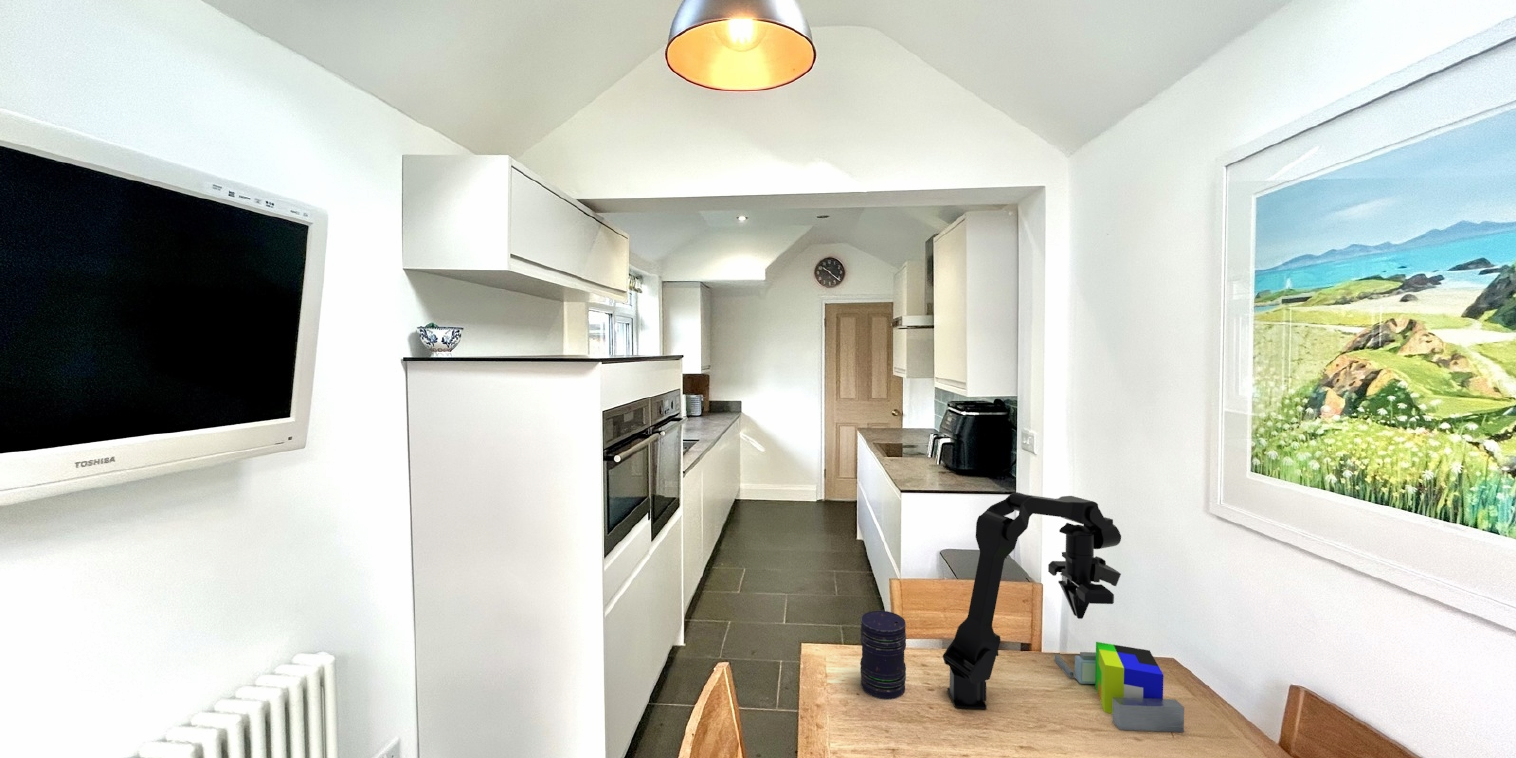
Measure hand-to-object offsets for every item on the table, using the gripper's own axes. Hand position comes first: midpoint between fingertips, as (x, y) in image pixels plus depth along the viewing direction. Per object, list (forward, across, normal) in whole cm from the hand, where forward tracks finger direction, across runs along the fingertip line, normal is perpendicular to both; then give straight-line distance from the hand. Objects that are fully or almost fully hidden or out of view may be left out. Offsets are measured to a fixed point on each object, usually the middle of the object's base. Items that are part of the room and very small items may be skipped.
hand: (1078, 616), depth 131 cm
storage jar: (+12, -10, +47) cm, 50 cm away
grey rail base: (+12, -10, -3) cm, 16 cm away
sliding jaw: (+12, -6, -3) cm, 14 cm away
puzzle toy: (+12, -14, -3) cm, 19 cm away
